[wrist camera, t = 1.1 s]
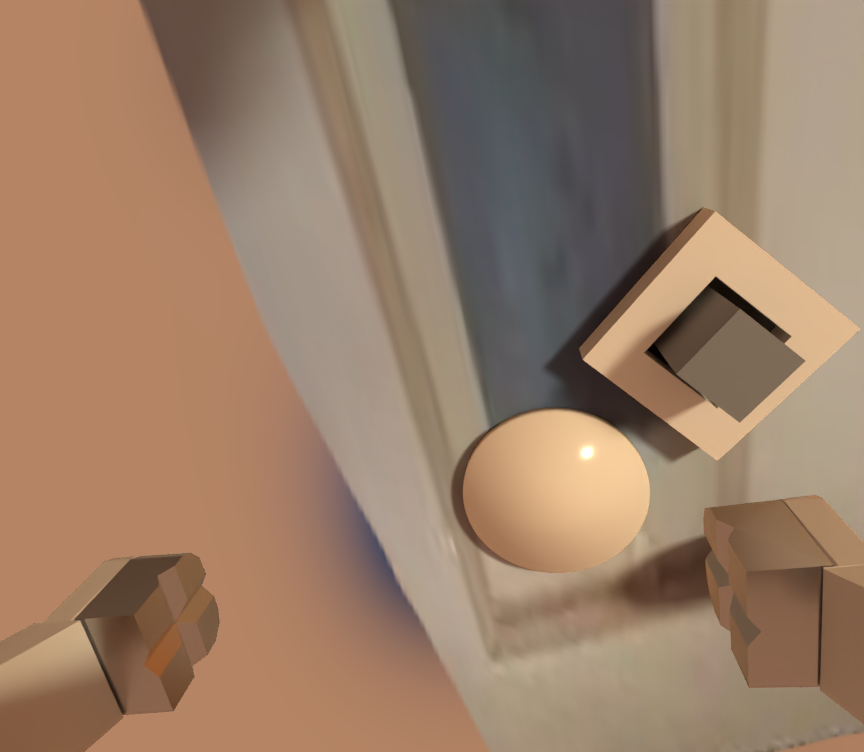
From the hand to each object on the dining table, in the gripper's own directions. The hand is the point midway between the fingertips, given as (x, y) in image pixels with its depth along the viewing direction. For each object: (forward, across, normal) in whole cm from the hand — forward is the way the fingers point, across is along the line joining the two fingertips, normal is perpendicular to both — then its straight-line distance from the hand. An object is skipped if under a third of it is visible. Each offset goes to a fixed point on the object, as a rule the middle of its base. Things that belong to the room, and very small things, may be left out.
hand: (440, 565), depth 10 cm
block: (+34, -13, +8) cm, 38 cm away
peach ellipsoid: (+35, -2, +19) cm, 40 cm away
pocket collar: (+34, -13, +8) cm, 38 cm away
